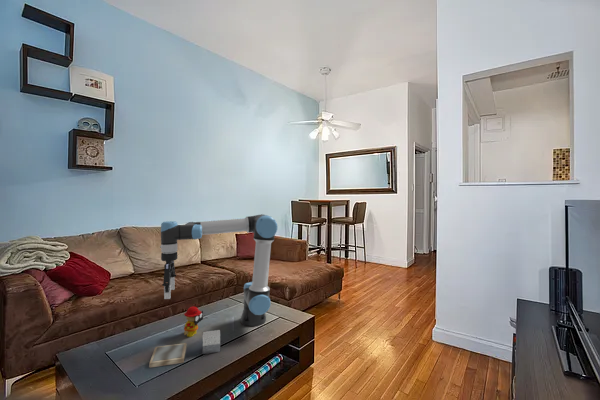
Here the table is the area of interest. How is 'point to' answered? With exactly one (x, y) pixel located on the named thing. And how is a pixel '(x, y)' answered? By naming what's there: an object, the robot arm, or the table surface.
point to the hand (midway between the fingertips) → (169, 294)
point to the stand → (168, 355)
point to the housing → (211, 341)
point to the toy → (192, 321)
